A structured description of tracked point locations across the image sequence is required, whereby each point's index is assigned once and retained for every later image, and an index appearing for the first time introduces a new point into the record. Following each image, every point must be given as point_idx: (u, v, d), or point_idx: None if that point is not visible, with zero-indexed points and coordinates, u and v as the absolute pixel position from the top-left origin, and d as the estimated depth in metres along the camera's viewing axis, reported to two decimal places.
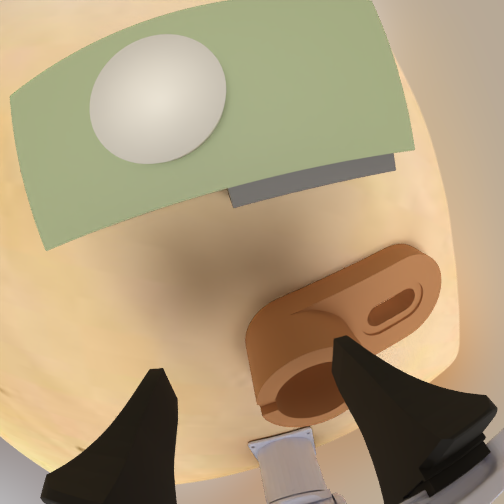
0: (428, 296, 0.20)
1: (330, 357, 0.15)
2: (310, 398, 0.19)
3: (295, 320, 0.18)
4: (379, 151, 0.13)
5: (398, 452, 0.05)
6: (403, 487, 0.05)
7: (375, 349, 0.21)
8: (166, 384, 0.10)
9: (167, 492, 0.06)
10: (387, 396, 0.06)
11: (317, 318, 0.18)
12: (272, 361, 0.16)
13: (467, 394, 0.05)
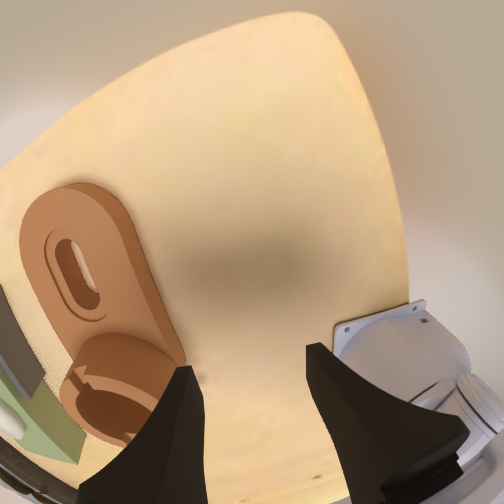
0: (64, 214, 0.13)
1: (71, 405, 0.13)
2: None
3: None
4: None
5: (362, 468, 0.05)
6: (368, 503, 0.05)
7: (134, 299, 0.15)
8: (194, 381, 0.10)
9: (200, 492, 0.06)
10: (351, 410, 0.06)
11: None
12: None
13: (438, 413, 0.05)
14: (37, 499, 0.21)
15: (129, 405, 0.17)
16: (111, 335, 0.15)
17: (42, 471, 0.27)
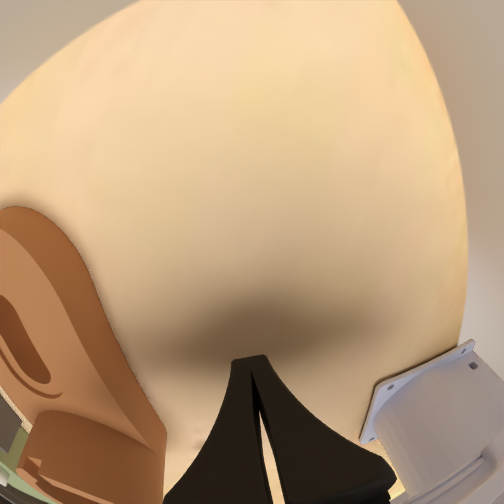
0: None
1: (32, 483, 0.06)
2: None
3: None
4: None
5: (282, 491, 0.05)
6: None
7: (94, 388, 0.09)
8: None
9: (268, 485, 0.06)
10: (270, 431, 0.06)
11: None
12: None
13: (363, 449, 0.05)
14: None
15: None
16: (69, 418, 0.09)
17: None
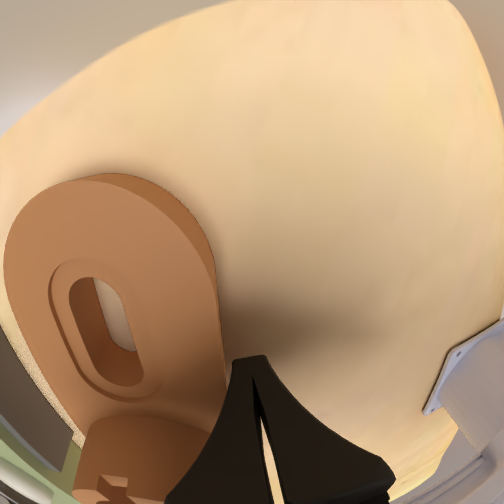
0: (100, 235, 0.07)
1: (88, 501, 0.06)
2: None
3: None
4: None
5: None
6: None
7: (208, 388, 0.09)
8: None
9: None
10: (270, 431, 0.06)
11: None
12: None
13: (362, 449, 0.05)
14: None
15: None
16: (153, 423, 0.09)
17: None
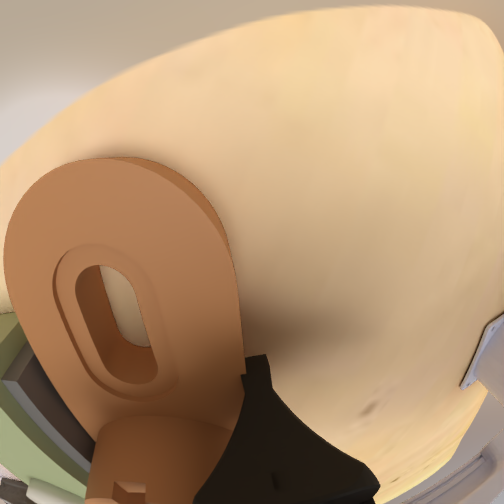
0: (111, 217, 0.07)
1: None
2: None
3: None
4: (12, 422, 0.06)
5: None
6: None
7: (227, 380, 0.09)
8: None
9: None
10: (255, 434, 0.06)
11: None
12: None
13: None
14: None
15: None
16: (168, 423, 0.09)
17: None
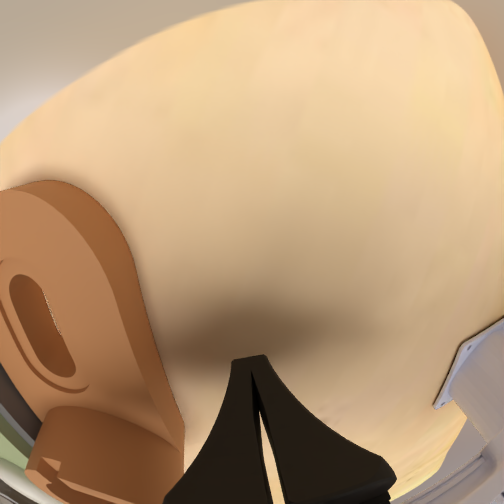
0: (21, 237, 0.06)
1: (40, 484, 0.06)
2: None
3: None
4: None
5: (282, 491, 0.05)
6: None
7: (129, 383, 0.09)
8: None
9: (268, 485, 0.06)
10: (270, 431, 0.06)
11: None
12: None
13: (363, 449, 0.05)
14: None
15: None
16: (91, 415, 0.09)
17: None
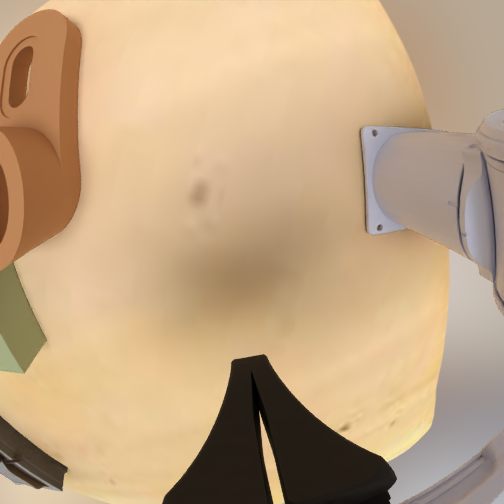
0: (35, 26, 0.08)
1: None
2: None
3: None
4: None
5: (282, 491, 0.05)
6: None
7: (52, 87, 0.11)
8: None
9: (268, 485, 0.06)
10: (270, 431, 0.06)
11: None
12: None
13: (363, 449, 0.05)
14: (9, 470, 0.18)
15: None
16: (19, 127, 0.11)
17: (17, 434, 0.24)
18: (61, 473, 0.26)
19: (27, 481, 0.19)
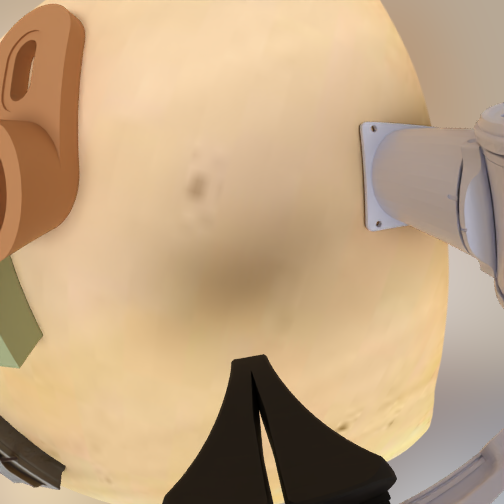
0: (39, 20, 0.08)
1: None
2: None
3: None
4: None
5: (282, 491, 0.05)
6: None
7: (53, 82, 0.11)
8: None
9: (268, 485, 0.06)
10: (270, 431, 0.06)
11: None
12: None
13: (363, 449, 0.05)
14: (7, 468, 0.17)
15: None
16: (19, 121, 0.11)
17: (15, 432, 0.24)
18: (59, 471, 0.26)
19: (24, 479, 0.19)
